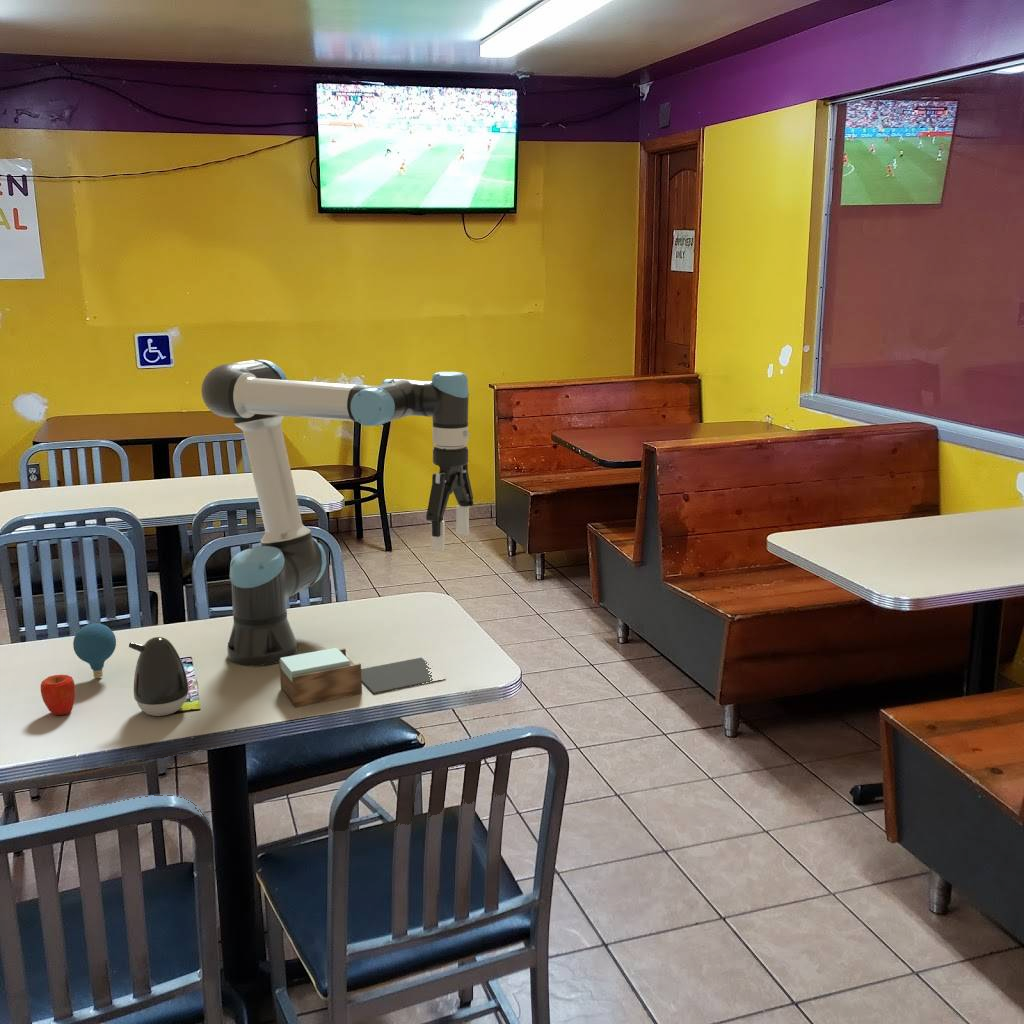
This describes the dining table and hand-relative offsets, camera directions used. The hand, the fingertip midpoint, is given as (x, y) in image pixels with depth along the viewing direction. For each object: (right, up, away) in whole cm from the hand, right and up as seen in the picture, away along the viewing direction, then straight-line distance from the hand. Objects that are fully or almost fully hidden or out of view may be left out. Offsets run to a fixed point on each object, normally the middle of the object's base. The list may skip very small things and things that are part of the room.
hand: (450, 542), depth 222 cm
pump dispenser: (-55, -33, -21) cm, 68 cm away
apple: (-75, -33, -22) cm, 85 cm away
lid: (-27, -25, -14) cm, 39 cm away
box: (-26, -30, -12) cm, 41 cm away
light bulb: (-74, -29, -5) cm, 80 cm away
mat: (-11, -28, -4) cm, 30 cm away
